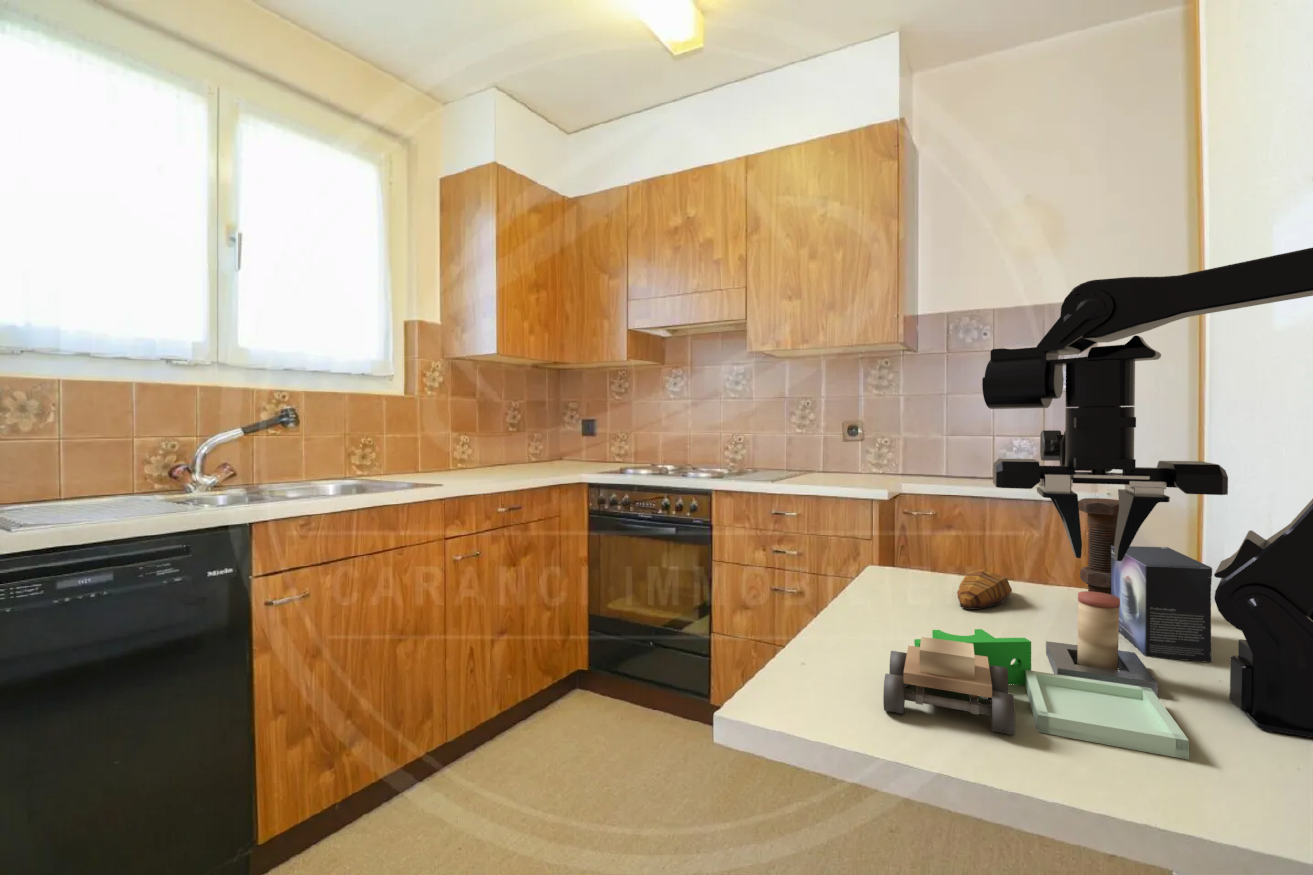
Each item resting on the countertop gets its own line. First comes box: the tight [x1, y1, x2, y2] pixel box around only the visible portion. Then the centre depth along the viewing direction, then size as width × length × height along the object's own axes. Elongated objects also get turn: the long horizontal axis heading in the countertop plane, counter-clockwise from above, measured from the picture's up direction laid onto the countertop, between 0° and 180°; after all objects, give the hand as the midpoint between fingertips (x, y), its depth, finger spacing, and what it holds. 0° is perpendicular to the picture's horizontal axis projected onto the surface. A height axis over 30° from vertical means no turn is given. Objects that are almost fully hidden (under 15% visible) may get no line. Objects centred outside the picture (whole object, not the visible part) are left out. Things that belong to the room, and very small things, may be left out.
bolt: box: [1078, 497, 1119, 594], centre depth 83 cm, size 6×5×15 cm
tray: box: [1024, 670, 1190, 760], centre depth 54 cm, size 10×10×2 cm
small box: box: [1111, 545, 1213, 663], centre depth 71 cm, size 11×6×10 cm, turn 161°
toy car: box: [882, 636, 1016, 736], centre depth 56 cm, size 10×9×6 cm
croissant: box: [956, 568, 1013, 610], centre depth 87 cm, size 14×7×5 cm, turn 131°
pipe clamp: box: [914, 628, 1032, 686], centre depth 62 cm, size 11×4×5 cm, turn 89°
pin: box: [1076, 590, 1120, 671], centre depth 63 cm, size 4×4×8 cm
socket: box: [1045, 641, 1159, 697], centre depth 63 cm, size 8×8×1 cm
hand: (1097, 558), depth 62 cm, fingers open, 3 cm apart
